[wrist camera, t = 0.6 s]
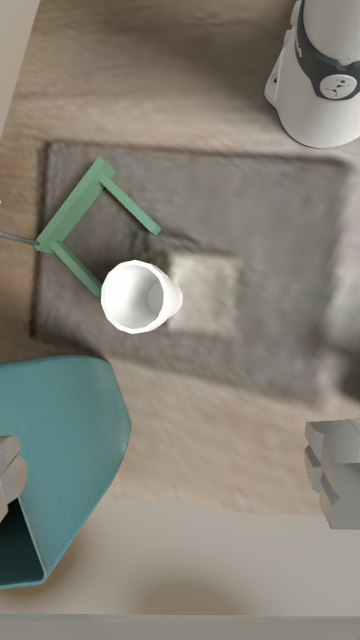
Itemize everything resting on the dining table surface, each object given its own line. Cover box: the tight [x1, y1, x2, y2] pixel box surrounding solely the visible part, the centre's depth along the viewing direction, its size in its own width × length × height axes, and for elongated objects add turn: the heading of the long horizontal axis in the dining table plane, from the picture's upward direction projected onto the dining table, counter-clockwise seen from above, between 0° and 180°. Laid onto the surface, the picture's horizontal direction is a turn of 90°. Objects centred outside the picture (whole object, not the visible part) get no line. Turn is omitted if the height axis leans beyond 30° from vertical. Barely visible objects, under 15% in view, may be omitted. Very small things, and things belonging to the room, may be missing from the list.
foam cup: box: [101, 260, 182, 334], centre depth 45 cm, size 10×9×13 cm
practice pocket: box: [0, 156, 162, 297], centre depth 45 cm, size 14×19×18 cm
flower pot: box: [0, 354, 131, 589], centre depth 42 cm, size 20×20×28 cm
